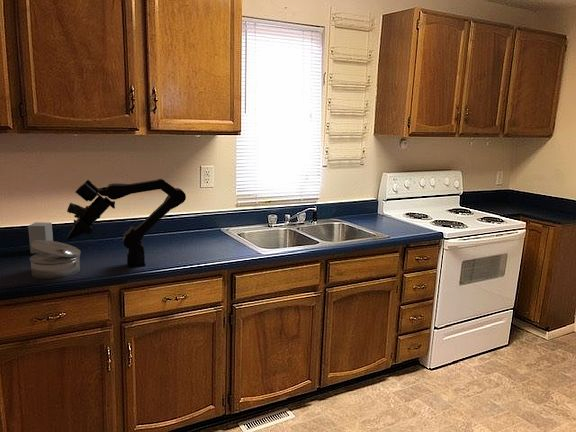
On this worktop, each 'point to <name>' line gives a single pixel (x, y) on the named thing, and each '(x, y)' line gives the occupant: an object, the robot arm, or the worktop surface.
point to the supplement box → (39, 233)
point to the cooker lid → (55, 248)
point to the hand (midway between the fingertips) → (67, 239)
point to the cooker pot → (53, 266)
